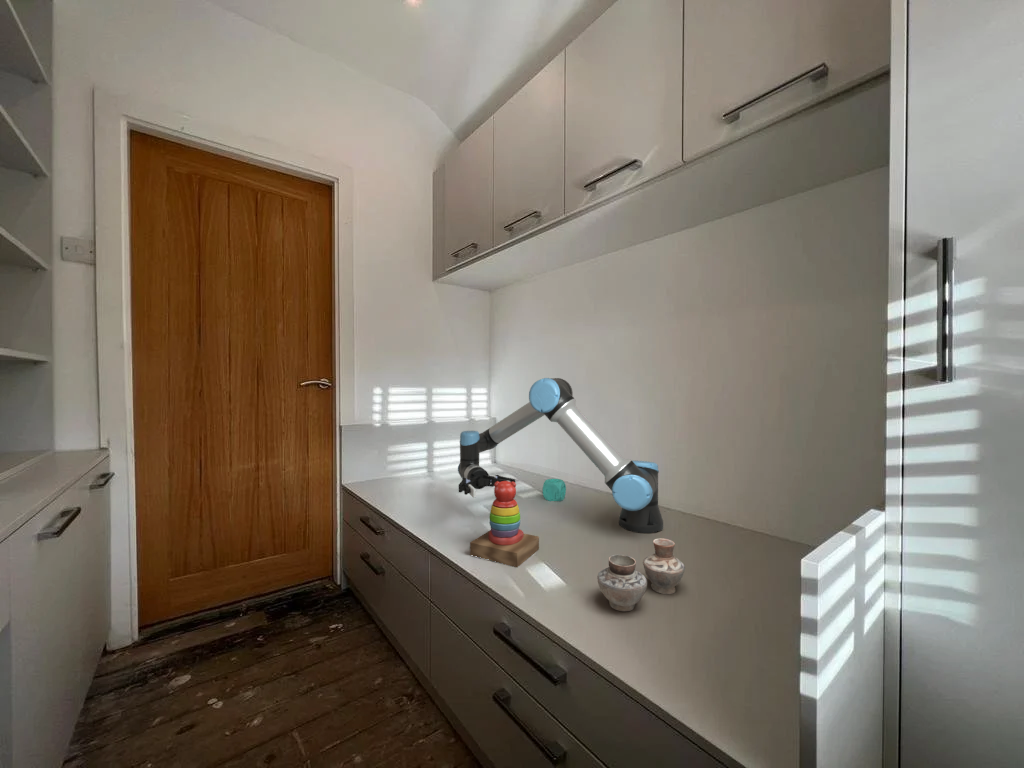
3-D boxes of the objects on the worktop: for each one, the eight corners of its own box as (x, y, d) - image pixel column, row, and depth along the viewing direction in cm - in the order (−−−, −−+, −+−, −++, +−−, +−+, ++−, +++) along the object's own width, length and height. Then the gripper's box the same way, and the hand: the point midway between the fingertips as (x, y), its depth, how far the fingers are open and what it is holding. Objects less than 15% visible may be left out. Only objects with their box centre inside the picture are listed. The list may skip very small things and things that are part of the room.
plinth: (538, 549, 131) (538, 536, 131) (517, 567, 118) (517, 553, 118) (494, 539, 138) (494, 527, 138) (470, 555, 126) (470, 542, 126)
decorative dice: (542, 500, 182) (542, 481, 181) (548, 495, 189) (548, 477, 189) (560, 502, 178) (560, 484, 178) (566, 497, 185) (566, 479, 185)
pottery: (695, 593, 104) (695, 545, 104) (622, 624, 91) (622, 570, 91) (658, 574, 114) (658, 531, 114) (587, 601, 101) (587, 551, 101)
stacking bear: (524, 533, 133) (524, 477, 132) (521, 546, 123) (521, 485, 122) (490, 532, 134) (490, 476, 134) (484, 545, 124) (484, 484, 124)
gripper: (508, 483, 162) (530, 498, 142) (443, 490, 153) (457, 507, 133) (508, 464, 161) (530, 476, 142) (443, 469, 152) (457, 483, 133)
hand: (494, 491), depth 137 cm, fingers open, 13 cm apart
